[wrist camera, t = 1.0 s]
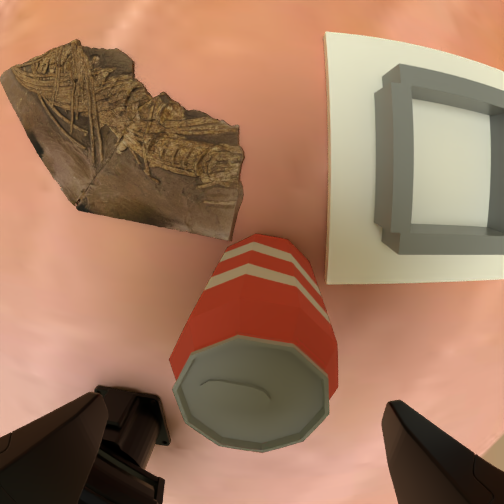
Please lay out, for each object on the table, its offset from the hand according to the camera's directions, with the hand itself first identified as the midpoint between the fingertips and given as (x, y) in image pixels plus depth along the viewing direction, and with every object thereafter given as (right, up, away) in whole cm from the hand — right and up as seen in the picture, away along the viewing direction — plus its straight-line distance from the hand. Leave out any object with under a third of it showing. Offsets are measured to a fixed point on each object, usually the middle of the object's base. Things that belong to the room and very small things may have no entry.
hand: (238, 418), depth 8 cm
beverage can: (+1, +3, +13) cm, 13 cm away
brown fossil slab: (-11, +14, +11) cm, 21 cm away
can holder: (+13, +11, +10) cm, 19 cm away
